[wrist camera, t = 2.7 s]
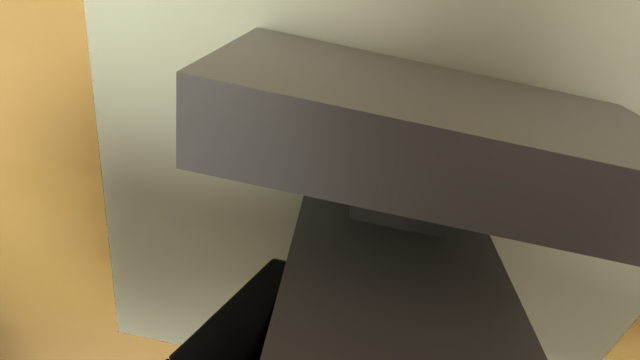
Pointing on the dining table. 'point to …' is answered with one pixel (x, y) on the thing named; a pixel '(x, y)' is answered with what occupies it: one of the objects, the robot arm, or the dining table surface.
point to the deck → (283, 207)
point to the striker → (408, 191)
